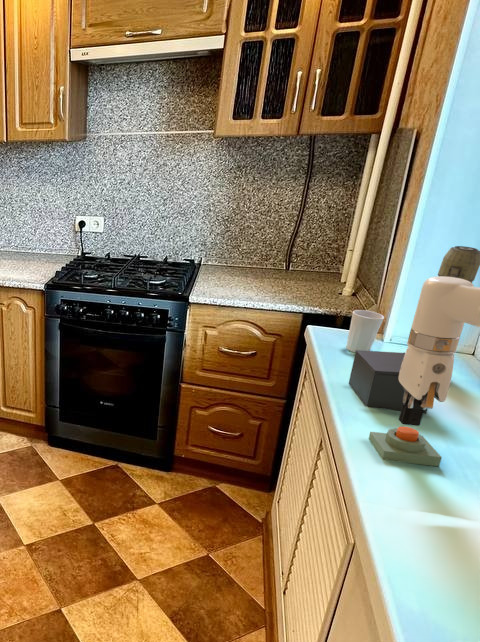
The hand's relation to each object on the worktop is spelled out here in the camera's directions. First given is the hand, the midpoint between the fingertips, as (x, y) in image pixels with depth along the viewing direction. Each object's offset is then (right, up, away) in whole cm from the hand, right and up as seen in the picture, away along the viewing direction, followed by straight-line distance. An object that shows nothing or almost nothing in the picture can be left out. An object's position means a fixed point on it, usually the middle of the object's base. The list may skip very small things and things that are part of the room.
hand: (408, 423), depth 109 cm
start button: (0, -3, +1) cm, 3 cm away
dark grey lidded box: (+13, +2, +25) cm, 28 cm away
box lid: (+14, +11, +22) cm, 28 cm away
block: (0, -7, +2) cm, 7 cm away
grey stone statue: (+35, +8, +40) cm, 53 cm away
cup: (+26, +13, +55) cm, 62 cm away
